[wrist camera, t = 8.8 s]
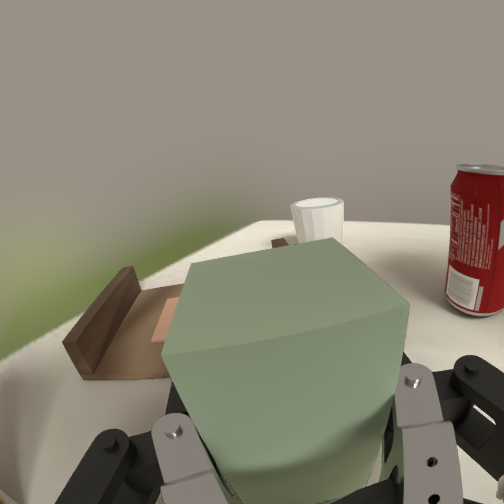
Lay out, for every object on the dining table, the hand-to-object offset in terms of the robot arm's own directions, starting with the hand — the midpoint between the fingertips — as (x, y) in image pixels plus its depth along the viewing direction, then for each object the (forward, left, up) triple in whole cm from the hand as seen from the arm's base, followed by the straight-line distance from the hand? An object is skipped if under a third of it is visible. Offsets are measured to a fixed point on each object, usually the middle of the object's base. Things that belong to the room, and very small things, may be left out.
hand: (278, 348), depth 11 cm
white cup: (-9, -26, -7) cm, 28 cm away
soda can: (-19, -7, -7) cm, 21 cm away
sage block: (0, +2, -6) cm, 6 cm away
